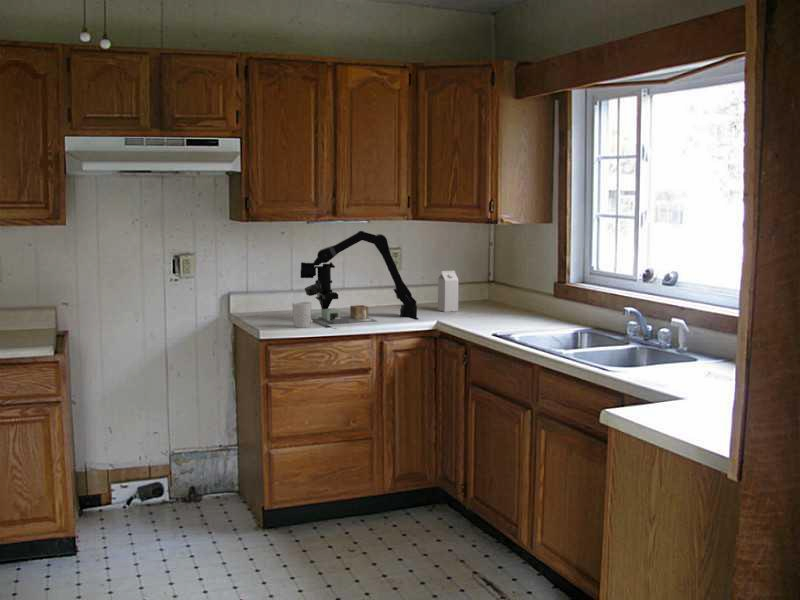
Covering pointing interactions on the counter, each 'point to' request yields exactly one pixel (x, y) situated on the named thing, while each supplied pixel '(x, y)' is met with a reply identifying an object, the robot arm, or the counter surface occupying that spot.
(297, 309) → the white cup
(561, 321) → the counter surface
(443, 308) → the milk carton
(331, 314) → the housing
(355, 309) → the collar
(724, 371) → the counter surface
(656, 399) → the counter surface
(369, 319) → the board
